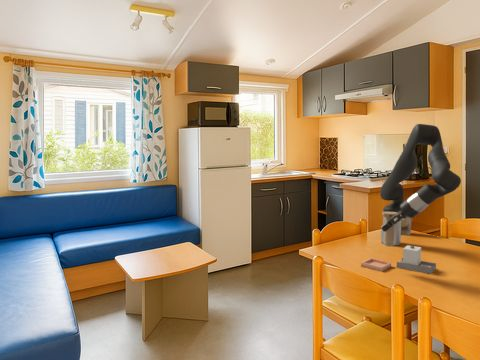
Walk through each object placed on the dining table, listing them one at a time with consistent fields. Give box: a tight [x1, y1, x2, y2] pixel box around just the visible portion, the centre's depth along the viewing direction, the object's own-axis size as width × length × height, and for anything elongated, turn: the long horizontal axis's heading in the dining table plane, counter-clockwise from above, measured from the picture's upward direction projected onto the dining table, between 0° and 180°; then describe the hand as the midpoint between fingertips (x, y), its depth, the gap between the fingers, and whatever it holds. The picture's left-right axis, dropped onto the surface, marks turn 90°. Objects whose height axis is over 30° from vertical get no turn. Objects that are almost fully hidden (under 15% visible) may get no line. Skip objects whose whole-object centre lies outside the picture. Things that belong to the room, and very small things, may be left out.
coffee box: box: [401, 211, 412, 236], centre depth 233 cm, size 9×6×16 cm
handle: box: [381, 211, 397, 248], centre depth 171 cm, size 5×6×15 cm
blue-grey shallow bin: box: [396, 256, 437, 275], centre depth 174 cm, size 14×8×2 cm, turn 51°
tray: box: [360, 257, 392, 272], centre depth 177 cm, size 10×9×2 cm
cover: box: [402, 245, 422, 265], centre depth 174 cm, size 6×7×8 cm
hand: (384, 228), depth 172 cm, fingers closed on handle, 3 cm apart
